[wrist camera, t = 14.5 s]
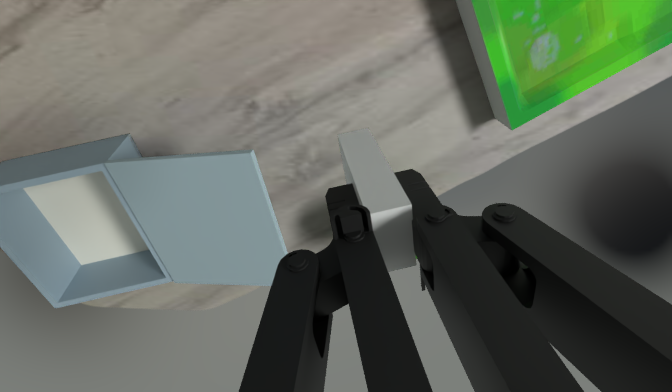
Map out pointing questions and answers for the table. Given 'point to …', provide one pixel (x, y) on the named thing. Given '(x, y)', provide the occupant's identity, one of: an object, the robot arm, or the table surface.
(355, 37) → the table surface
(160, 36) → the table surface
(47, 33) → the table surface
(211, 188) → the lid
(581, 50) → the tray
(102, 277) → the box
